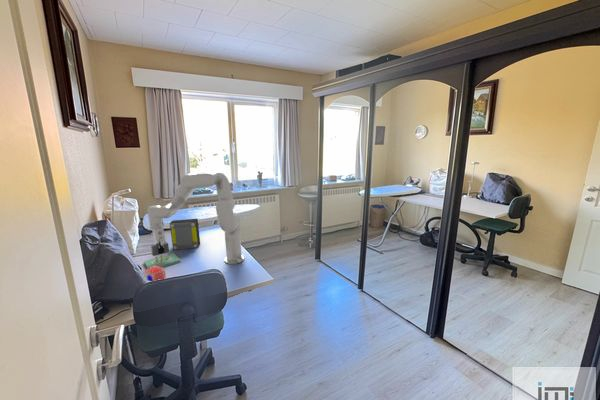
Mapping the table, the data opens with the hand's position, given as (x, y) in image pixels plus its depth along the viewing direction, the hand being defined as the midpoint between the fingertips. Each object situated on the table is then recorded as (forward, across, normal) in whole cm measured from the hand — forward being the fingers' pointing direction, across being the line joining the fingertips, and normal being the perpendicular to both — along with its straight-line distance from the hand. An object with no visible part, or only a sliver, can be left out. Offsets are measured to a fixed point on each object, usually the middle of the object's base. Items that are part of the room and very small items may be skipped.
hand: (160, 252), depth 168 cm
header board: (+7, 0, 0) cm, 7 cm away
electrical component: (+8, +16, -21) cm, 27 cm away
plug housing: (+1, 0, 0) cm, 1 cm away
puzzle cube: (+8, -24, +10) cm, 27 cm away
